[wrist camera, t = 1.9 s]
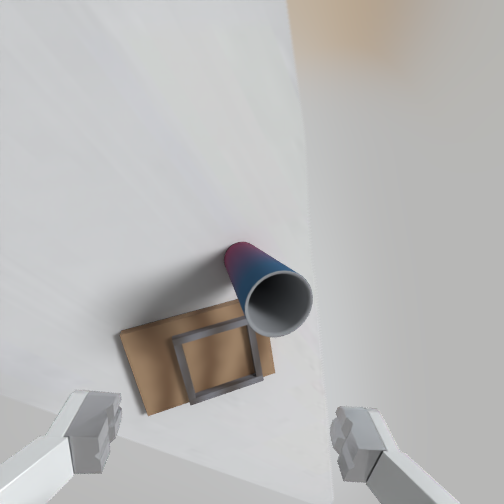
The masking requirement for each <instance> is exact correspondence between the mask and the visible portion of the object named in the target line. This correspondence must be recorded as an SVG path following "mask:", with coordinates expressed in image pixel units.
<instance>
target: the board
mask: <svg viewBox="0 0 504 504" xmlns="http://www.w3.org/2000/svg"><path fill="white" fill-rule="evenodd" d="M120 338H121V341H122V343H123V346H124V349H125V352H126V355H127V358H128V361H129V363H130V366H131V369H132V372H133V375H134V378H135V380H136V383H137V386H138V389H139V392H140V395H141V397H142V400H143V403H144V406H145V409H146V412H147V414H148V416H150V415H153V414H156V413H159V412H162V411H165V410H168V409H170V408H173V407H176V406H179V405H182V404H185V403H188V402H190V405H193V404H196V403H199V402H202V401H205V400H208V399H211V398H214V397H217V396H220V395H223V394H226V393H228V392H231V391H234V390H237V389H240V388H243V387H246V386H249V385H252V384H255V383H258V382H260V381H263V380H264V379H263V377H264V376H267V375H270V374H273V373H275V369H274V363H273V356H272V350H271V343H270V337H266V336H262V335H260V334H258V333H257V332H255V331H254V330H253V329H252V328H251V327H250V326H249V324H248V322H247V320H246V318H245V315H244V313H243V310H242V308H241V305H240V303H239V300H238V299H236V300H233V301H229V302H225V303H222V304H218V305H214V306H211V307H207V308H203V309H200V310H196V311H192V312H188V313H185V314H181V315H177V316H174V317H170V318H166V319H163V320H159V321H155V322H152V323H148V324H144V325H141V326H137V327H133V328H130V329H126V330H122V331H121V333H120Z"/></svg>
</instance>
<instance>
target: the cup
mask: <svg viewBox="0 0 504 504" xmlns="http://www.w3.org/2000/svg"><path fill="white" fill-rule="evenodd" d="M224 263H225V266H226V269H227V272H228V274H229V277H230V279H231V282H232V285H233V287H234V290H235V292H236V295H237V297H238V300H239V303H240V305H241V308H242V310H243V313H244V315H245V318H246V320H247V322H248V324H249V326H250V327H251V328H252V329H253V330H254V331H255V332H257V333H258V334H260V335H262V336H266V337H281V336H284V335H287V334H290V333H291V332H293V331H295V330H296V329H297V328H299V327H300V326H301V325H302V324H303V322H304V321H305V320H306V318H307V317H308V315H309V313H310V311H311V307H312V302H313V295H312V290H311V287H310V285H309V283H308V282H307V280H306V279H305V278H304V277H303V276H301V275H300V274H298V273H296V272H295V271H293V270H292V269H290V268H288V267H287V266H285V265H284V264H282V263H280V262H279V261H277V260H276V259H274V258H272V257H271V256H269V255H268V254H266V253H264V252H263V251H261V250H260V249H258V248H256V247H255V246H253V245H251V244H250V243H247V242H238V243H235V244H233V245H232V246H230V247H229V249H228V250H227V251H226V254H225V257H224Z"/></svg>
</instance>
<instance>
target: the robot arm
mask: <svg viewBox="0 0 504 504" xmlns="http://www.w3.org/2000/svg"><path fill="white" fill-rule="evenodd" d="M120 402H121V393H110V392H98V391H86V390H75V391H74V392H73V393H72V394H71V395H70V396H69V398H68V399H67V401H66V403H65V404H64V406H63V407H62V409H61V411H60V412H59V414H58V415H57V417H56V419H55V420H54V422H53V424H52V425H51V427H50V428H49V430H48V432H47V433H46V435H45V436H39V437H38V438H36V439H35V440H34V441H32V442H31V443H29V444H28V445H27V446H25V447H24V448H23V449H21V450H20V451H18V452H17V453H16V454H14V455H13V456H11V457H10V458H9V459H7V460H6V461H4V462H3V463H2V464H1V465H0V504H46V503H47V502H48V501H49V500H50V499H51V498H52V497H53V496H54V495H55V494H56V493H57V492H58V491H59V490H60V489H61V488H62V487H63V486H64V485H65V484H66V483H67V482H68V481H69V480H70V479H71V478H72V477H73V476H74V474H75V473H76V474H79V473H80V474H86V473H87V474H88V473H90V474H91V473H92V474H96V473H97V474H101V473H102V471H103V469H104V466H105V464H106V461H107V459H108V456H109V454H110V443H111V442H112V441H113V440H114V439H115V438H116V436H117V433H118V430H119V426H120V423H121V417H122V408H121V407H120V406H119V404H120ZM336 415H337V418H335V419H334V420H333V421H332V424H331V427H330V436H331V441H332V445H333V448H334V449H335V450H336V451H337V453H338V454H339V457H338V460H337V462H338V465H339V468H340V471H341V474H342V478H343V481H348V482H349V481H350V482H364V483H366V485H367V486H368V487H369V489H370V490H371V491H372V493H373V494H374V495H375V496H376V498H377V499H378V500H379V502H380V503H381V504H460V502H458V501H457V500H456V499H455V498H454V497H453V496H452V495H451V494H450V493H449V492H448V491H446V490H445V489H444V488H443V487H442V486H441V485H440V484H439V483H437V481H436V480H434V479H433V478H432V477H431V476H430V475H429V474H428V473H427V472H426V471H425V470H424V469H422V468H421V467H420V466H419V465H418V464H417V463H416V462H415V461H414V460H413V459H412V458H410V457H409V456H408V455H407V454H406V453H405V452H401V451H400V449H399V447H398V445H397V443H396V441H395V439H394V438H393V436H392V434H391V432H390V430H389V428H388V426H387V424H386V422H385V420H384V418H383V416H382V414H381V412H380V411H379V410H378V409H376V408H363V407H345V406H340V407H338V408H337V410H336Z"/></svg>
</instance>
